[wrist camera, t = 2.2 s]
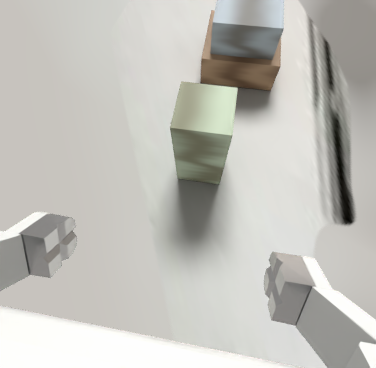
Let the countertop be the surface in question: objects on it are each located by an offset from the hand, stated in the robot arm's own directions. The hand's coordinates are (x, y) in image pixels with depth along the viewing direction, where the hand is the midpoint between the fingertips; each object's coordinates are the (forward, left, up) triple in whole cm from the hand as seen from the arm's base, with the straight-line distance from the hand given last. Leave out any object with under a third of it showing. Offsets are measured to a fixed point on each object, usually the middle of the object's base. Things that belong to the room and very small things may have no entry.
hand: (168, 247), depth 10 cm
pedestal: (-3, -30, -16) cm, 34 cm away
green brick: (0, -12, -16) cm, 20 cm away
